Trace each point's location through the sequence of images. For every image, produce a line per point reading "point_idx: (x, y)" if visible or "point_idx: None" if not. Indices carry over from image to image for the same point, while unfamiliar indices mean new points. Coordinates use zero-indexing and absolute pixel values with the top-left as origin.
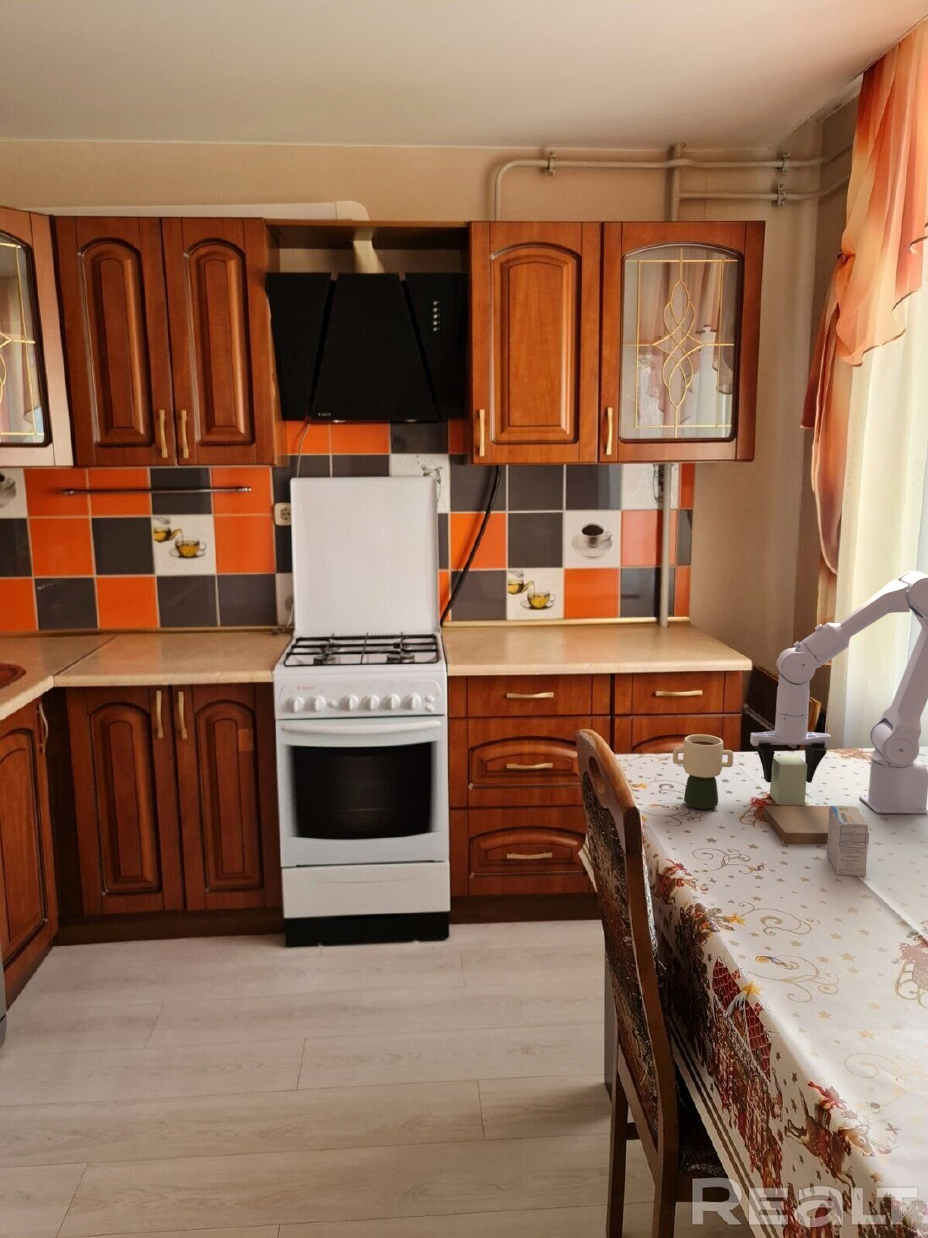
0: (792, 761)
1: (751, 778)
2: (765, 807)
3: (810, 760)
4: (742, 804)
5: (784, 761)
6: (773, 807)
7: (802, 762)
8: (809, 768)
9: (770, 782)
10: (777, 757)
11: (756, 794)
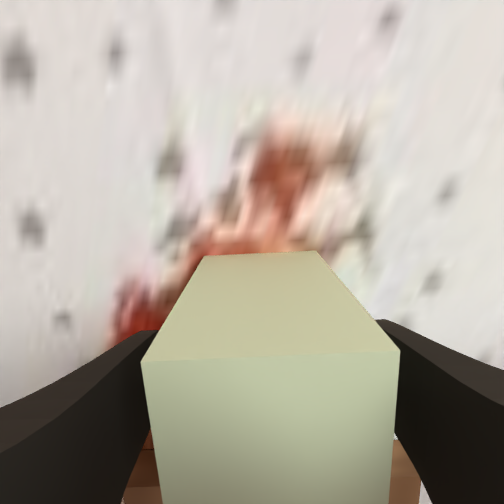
0: (292, 483)
1: (160, 17)
2: (125, 500)
3: (451, 501)
4: (77, 356)
5: (222, 487)
6: (156, 498)
7: (369, 500)
8: (410, 432)
9: (193, 274)
10: (186, 398)
11: (148, 249)
